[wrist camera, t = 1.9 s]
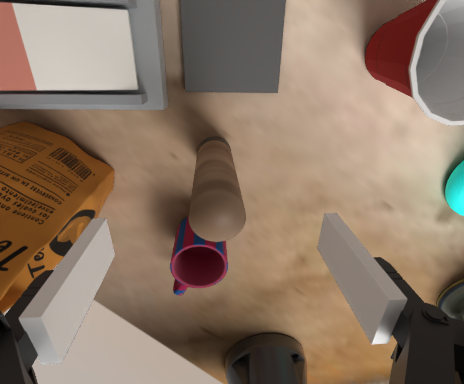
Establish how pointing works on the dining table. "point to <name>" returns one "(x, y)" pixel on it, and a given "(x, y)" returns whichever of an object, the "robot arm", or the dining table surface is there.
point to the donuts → (456, 189)
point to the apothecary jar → (453, 300)
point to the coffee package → (43, 202)
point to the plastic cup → (424, 58)
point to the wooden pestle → (216, 193)
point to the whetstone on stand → (145, 98)
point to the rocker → (65, 48)
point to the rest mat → (232, 45)
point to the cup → (196, 260)
